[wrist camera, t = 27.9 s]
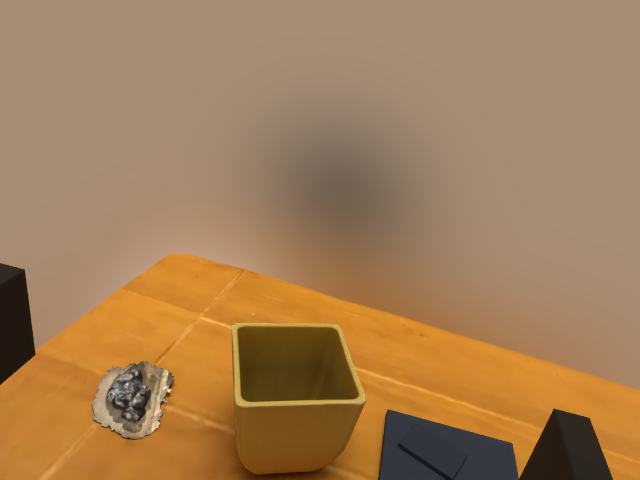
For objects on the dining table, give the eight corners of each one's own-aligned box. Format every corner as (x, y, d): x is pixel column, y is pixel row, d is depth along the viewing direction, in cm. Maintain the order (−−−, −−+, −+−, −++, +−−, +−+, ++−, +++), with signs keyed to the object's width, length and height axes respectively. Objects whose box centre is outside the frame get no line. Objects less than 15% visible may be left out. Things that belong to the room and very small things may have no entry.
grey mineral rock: (169, 362, 46) (169, 346, 45) (187, 428, 40) (188, 410, 39) (89, 376, 43) (88, 359, 42) (95, 449, 37) (94, 431, 36)
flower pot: (223, 405, 42) (231, 320, 38) (322, 403, 44) (340, 322, 40) (225, 500, 35) (235, 406, 31) (344, 492, 37) (368, 402, 33)
